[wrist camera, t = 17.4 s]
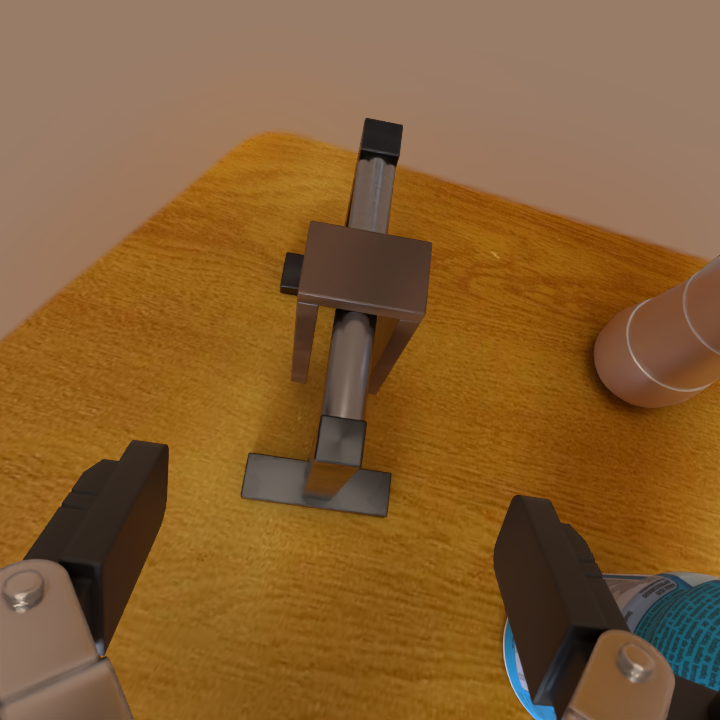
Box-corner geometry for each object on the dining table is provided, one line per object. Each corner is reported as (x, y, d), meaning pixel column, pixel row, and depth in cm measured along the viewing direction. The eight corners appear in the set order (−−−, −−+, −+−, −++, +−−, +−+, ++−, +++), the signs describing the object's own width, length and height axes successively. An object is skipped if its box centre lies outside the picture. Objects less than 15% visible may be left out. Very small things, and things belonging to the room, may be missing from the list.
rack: (241, 498, 32) (213, 458, 18) (286, 259, 37) (289, 93, 23) (384, 517, 32) (454, 493, 19) (409, 280, 37) (479, 131, 24)
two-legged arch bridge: (290, 381, 30) (297, 292, 20) (299, 329, 31) (310, 219, 21) (376, 394, 31) (426, 314, 20) (382, 343, 32) (432, 241, 21)
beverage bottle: (480, 581, 32) (768, 621, 13) (617, 554, 33) (1052, 554, 15) (518, 756, 29) (942, 1116, 11) (664, 718, 31) (1263, 972, 12)
